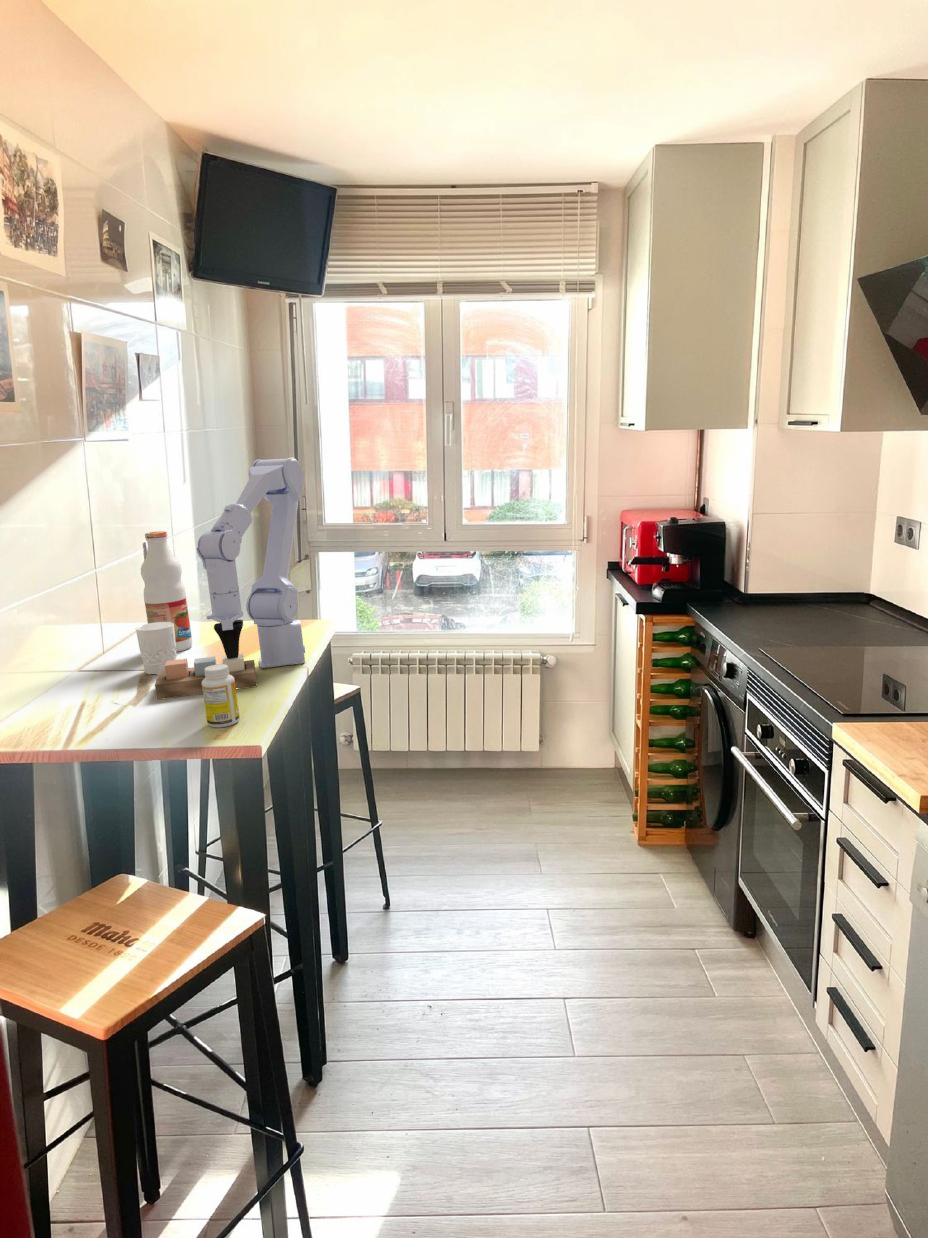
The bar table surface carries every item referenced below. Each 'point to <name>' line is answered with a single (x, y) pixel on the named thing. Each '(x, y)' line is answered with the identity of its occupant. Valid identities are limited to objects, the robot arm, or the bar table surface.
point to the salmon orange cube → (176, 669)
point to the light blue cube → (203, 664)
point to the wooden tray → (200, 682)
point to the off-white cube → (234, 663)
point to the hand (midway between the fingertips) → (232, 657)
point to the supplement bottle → (220, 696)
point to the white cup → (156, 645)
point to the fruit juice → (165, 589)
